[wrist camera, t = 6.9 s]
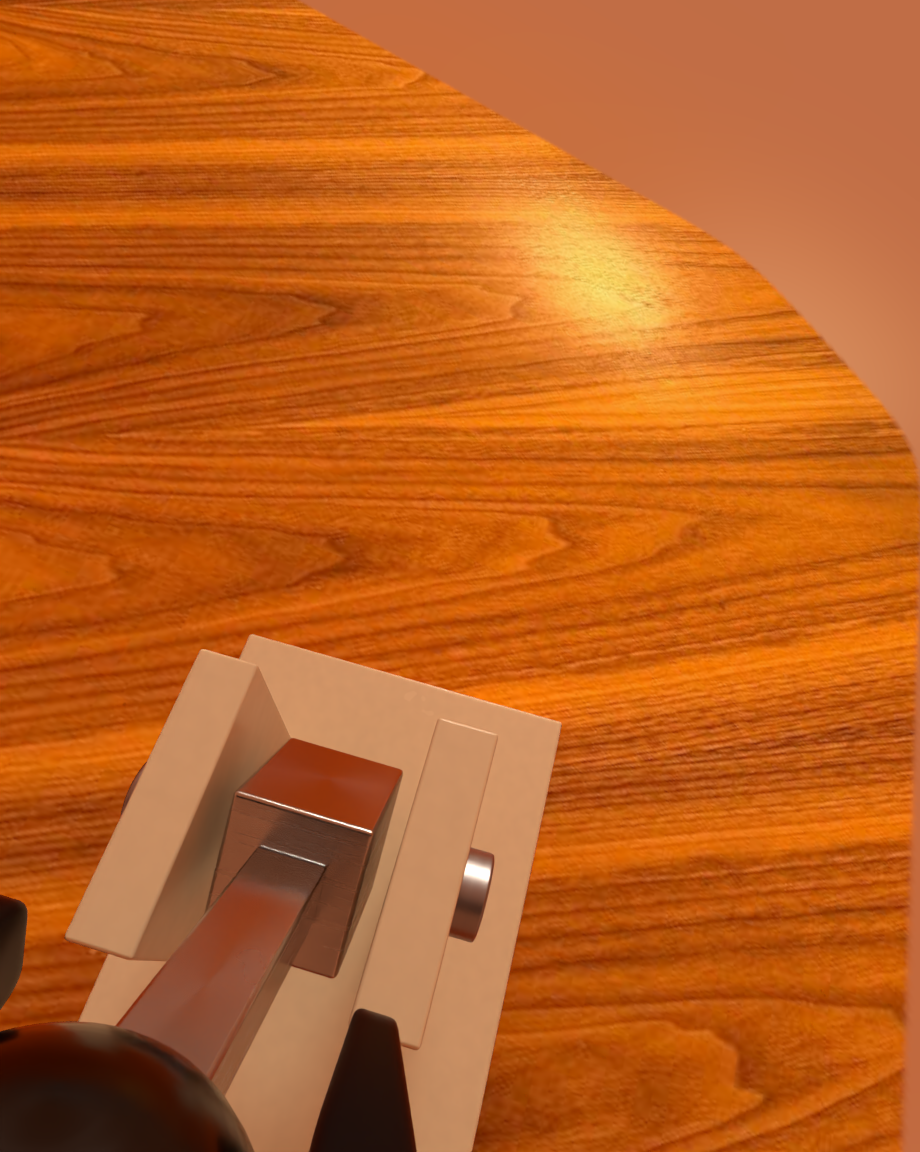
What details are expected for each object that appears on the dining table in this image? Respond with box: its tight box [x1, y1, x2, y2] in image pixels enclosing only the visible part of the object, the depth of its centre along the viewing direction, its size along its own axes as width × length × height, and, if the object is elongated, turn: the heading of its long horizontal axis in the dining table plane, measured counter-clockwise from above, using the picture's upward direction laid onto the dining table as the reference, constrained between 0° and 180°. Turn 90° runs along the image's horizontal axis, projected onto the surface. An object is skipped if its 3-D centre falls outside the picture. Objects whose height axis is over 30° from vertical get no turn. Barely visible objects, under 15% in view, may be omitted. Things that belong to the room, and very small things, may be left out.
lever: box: [0, 738, 403, 1152], centre depth 9 cm, size 11×4×4 cm
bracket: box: [65, 634, 562, 1152], centre depth 15 cm, size 11×9×9 cm
